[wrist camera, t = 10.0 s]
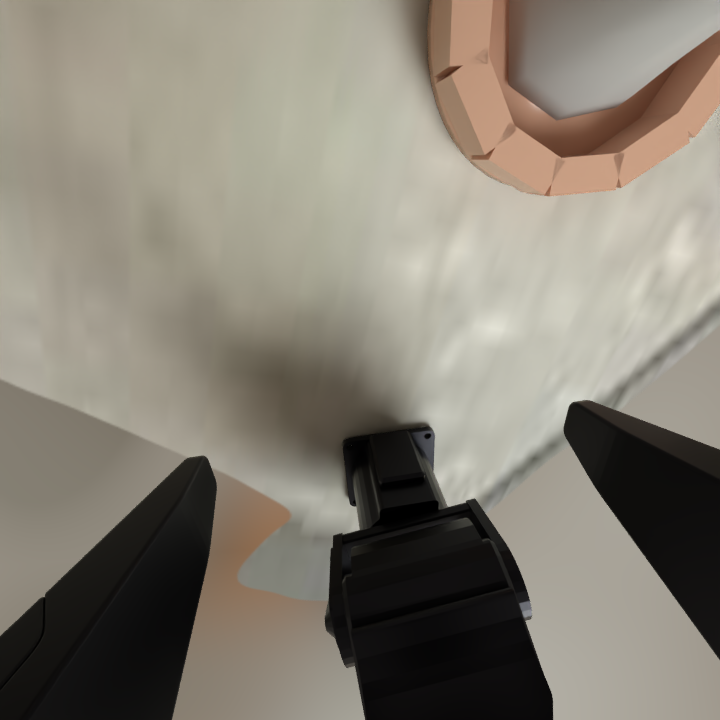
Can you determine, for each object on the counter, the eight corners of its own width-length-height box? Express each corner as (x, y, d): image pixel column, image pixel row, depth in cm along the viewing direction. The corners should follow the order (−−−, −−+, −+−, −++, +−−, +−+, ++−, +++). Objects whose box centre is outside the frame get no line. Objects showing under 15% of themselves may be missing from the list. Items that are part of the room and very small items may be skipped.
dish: (658, 178, 20) (712, 180, 17) (424, 200, 19) (444, 206, 16) (773, -215, 13) (886, -306, 11) (430, -215, 12) (463, -315, 10)
